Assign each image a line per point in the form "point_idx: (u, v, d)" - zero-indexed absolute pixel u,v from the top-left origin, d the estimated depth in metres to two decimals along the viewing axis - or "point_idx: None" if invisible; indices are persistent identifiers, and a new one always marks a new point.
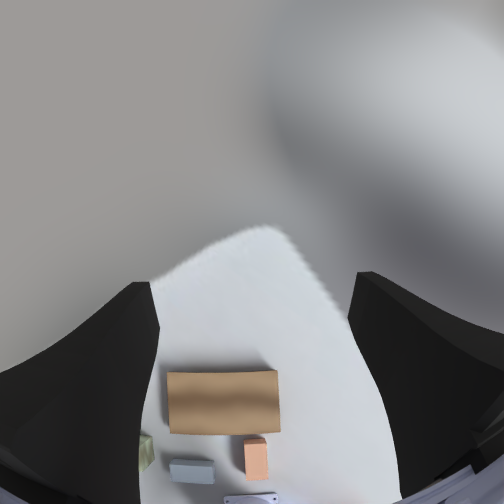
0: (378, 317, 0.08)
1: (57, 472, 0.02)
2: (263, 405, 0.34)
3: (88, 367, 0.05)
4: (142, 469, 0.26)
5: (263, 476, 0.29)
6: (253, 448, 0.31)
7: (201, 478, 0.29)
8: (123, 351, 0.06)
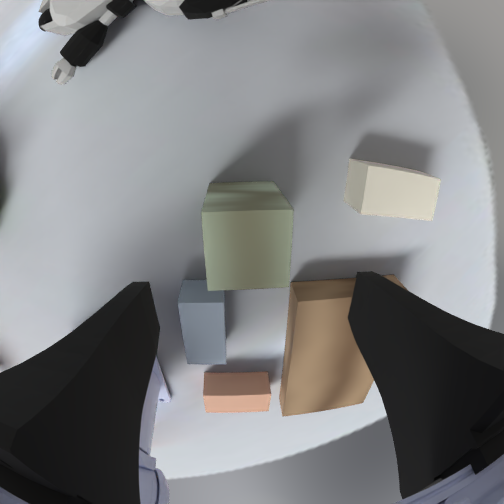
0: (378, 317, 0.08)
1: (57, 472, 0.02)
2: (325, 400, 0.25)
3: (87, 367, 0.05)
4: None
5: (211, 409, 0.23)
6: (262, 401, 0.23)
7: (197, 350, 0.20)
8: (123, 351, 0.06)
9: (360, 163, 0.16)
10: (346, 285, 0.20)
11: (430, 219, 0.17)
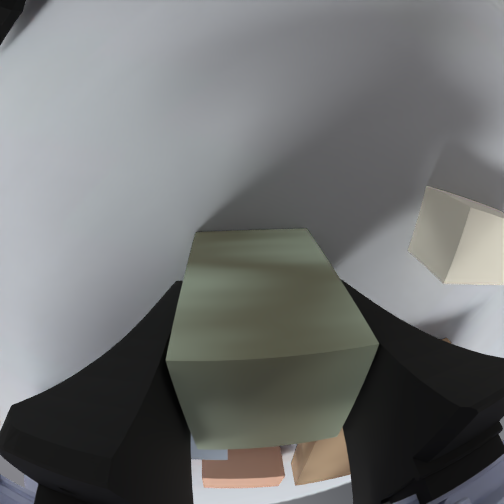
0: None
1: (144, 494, 0.03)
2: (345, 469, 0.17)
3: (158, 373, 0.05)
4: None
5: (210, 486, 0.16)
6: (273, 481, 0.16)
7: None
8: None
9: (451, 199, 0.08)
10: None
11: None
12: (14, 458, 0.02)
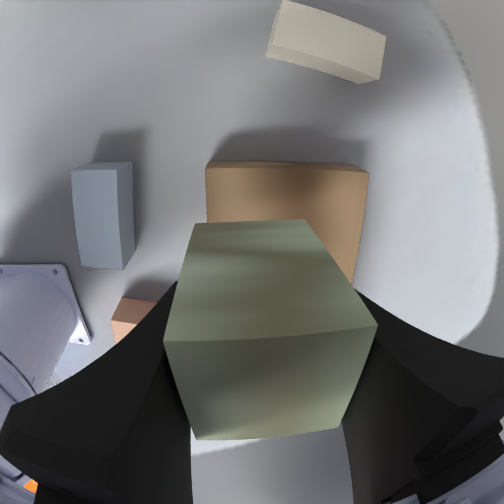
0: None
1: (143, 494, 0.03)
2: None
3: (158, 373, 0.05)
4: None
5: None
6: None
7: (90, 243, 0.15)
8: None
9: (279, 7, 0.11)
10: (280, 163, 0.16)
11: (376, 77, 0.12)
12: (14, 458, 0.02)
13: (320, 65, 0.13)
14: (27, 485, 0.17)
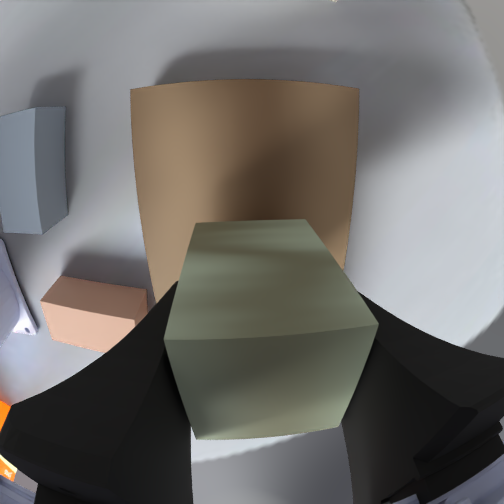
0: None
1: (144, 494, 0.03)
2: None
3: (158, 373, 0.05)
4: None
5: (56, 334, 0.13)
6: (124, 335, 0.13)
7: (9, 202, 0.10)
8: None
9: None
10: None
11: None
12: (14, 458, 0.02)
13: None
14: None
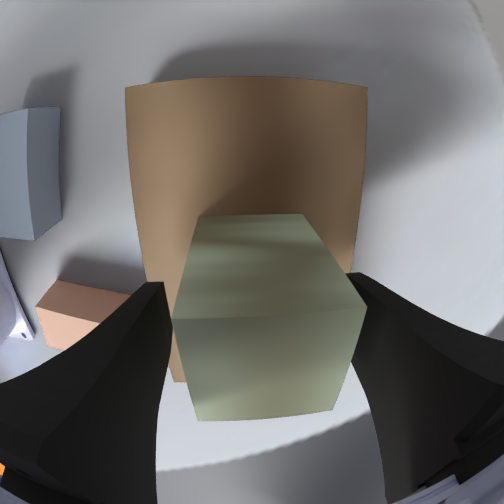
0: (364, 319, 0.08)
1: (82, 480, 0.02)
2: None
3: (109, 369, 0.05)
4: None
5: (52, 340, 0.13)
6: None
7: (1, 206, 0.09)
8: (141, 352, 0.06)
9: None
10: None
11: None
12: None
13: None
14: None
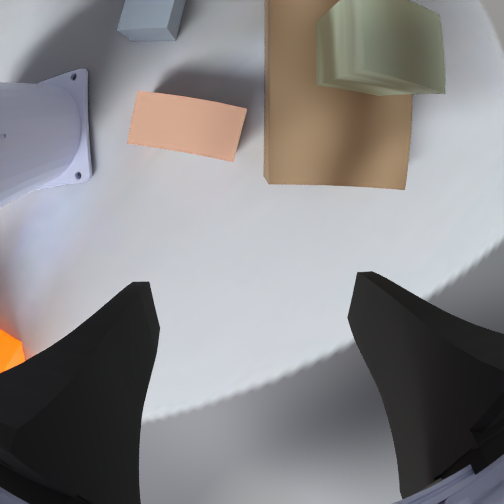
0: (378, 317, 0.08)
1: (57, 472, 0.02)
2: (341, 149, 0.15)
3: (87, 367, 0.04)
4: (369, 71, 0.08)
5: (138, 133, 0.13)
6: (228, 127, 0.14)
7: (138, 5, 0.10)
8: (123, 351, 0.06)
9: None
10: None
11: None
12: None
13: None
14: None
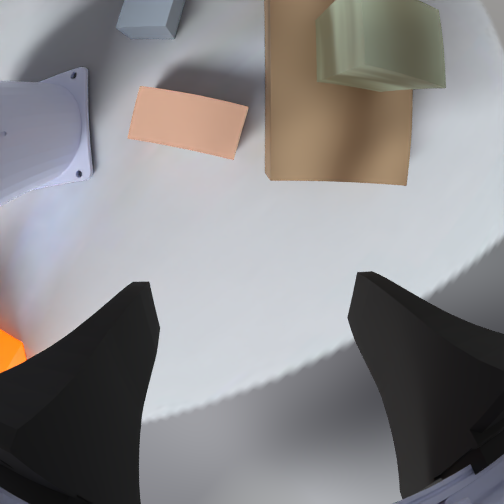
0: (378, 317, 0.08)
1: (57, 472, 0.02)
2: (342, 145, 0.15)
3: (88, 367, 0.05)
4: (370, 65, 0.08)
5: (139, 128, 0.13)
6: (229, 125, 0.14)
7: (137, 3, 0.10)
8: (123, 351, 0.06)
9: None
10: None
11: None
12: None
13: None
14: None
